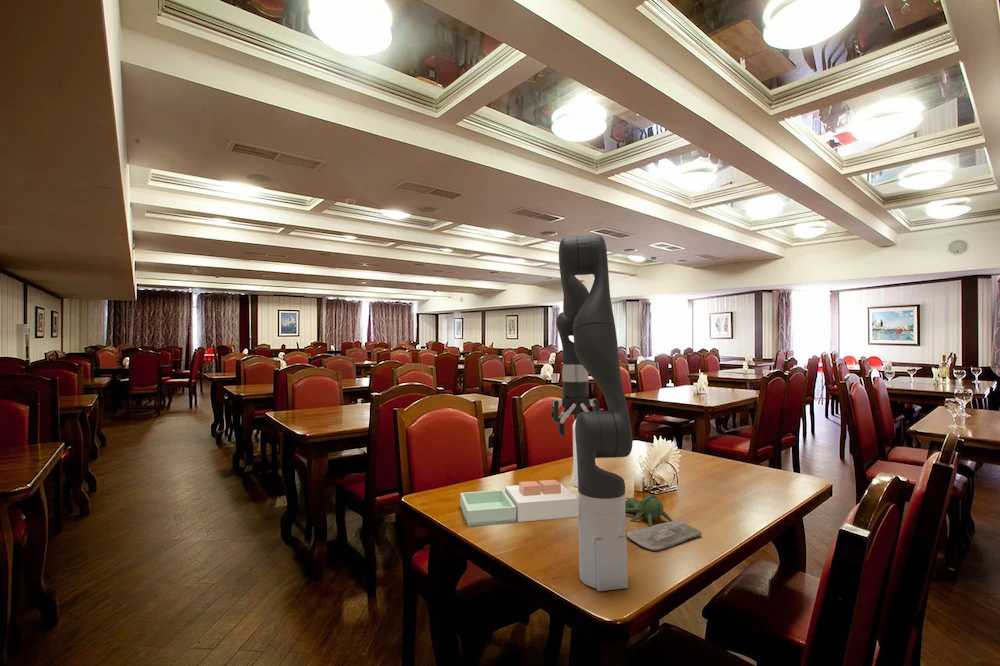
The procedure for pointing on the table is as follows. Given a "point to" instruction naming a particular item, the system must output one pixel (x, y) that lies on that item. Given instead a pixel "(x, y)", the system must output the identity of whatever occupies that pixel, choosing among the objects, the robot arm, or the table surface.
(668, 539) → the stone
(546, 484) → the tile
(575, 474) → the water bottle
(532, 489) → the tile
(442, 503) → the table surface
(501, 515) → the box
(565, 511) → the raised plate
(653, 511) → the figurine
